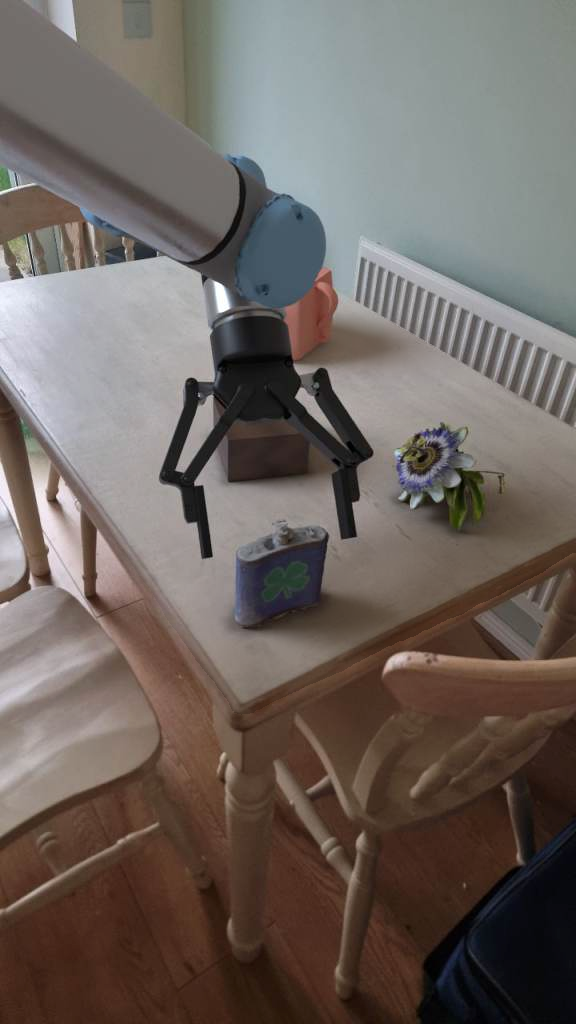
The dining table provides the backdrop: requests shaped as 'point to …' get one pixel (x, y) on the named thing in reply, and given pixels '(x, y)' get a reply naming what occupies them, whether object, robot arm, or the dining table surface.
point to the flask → (279, 573)
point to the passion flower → (441, 473)
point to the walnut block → (261, 449)
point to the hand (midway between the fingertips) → (279, 548)
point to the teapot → (312, 316)
